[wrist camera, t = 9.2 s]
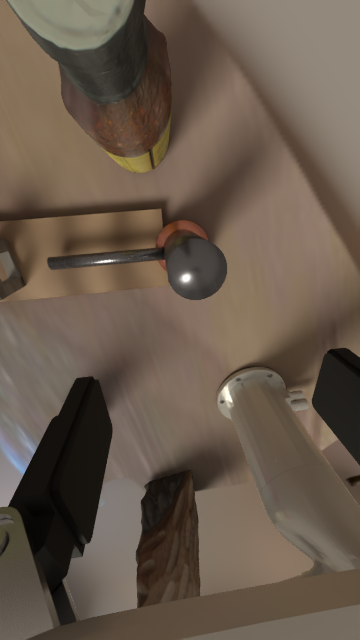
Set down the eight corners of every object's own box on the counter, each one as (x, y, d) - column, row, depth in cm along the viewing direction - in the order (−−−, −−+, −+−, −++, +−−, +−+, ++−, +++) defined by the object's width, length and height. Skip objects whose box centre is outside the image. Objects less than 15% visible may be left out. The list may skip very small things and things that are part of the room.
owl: (195, 498, 56) (213, 634, 38) (144, 506, 55) (140, 648, 37) (193, 469, 50) (214, 612, 32) (137, 477, 49) (126, 629, 31)
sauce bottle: (148, 84, 21) (110, -561, 3) (178, 156, 24) (244, 4, 6) (91, 123, 22) (-175, -232, 4) (126, 188, 25) (54, 136, 7)
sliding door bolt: (207, 217, 26) (240, 223, 16) (208, 272, 28) (236, 305, 19) (49, 230, 25) (-24, 245, 15) (66, 285, 27) (15, 329, 18)
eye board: (160, 208, 26) (162, 208, 20) (168, 282, 30) (171, 299, 25) (-36, 224, 25) (-91, 228, 19) (-1, 299, 29) (-37, 320, 23)
